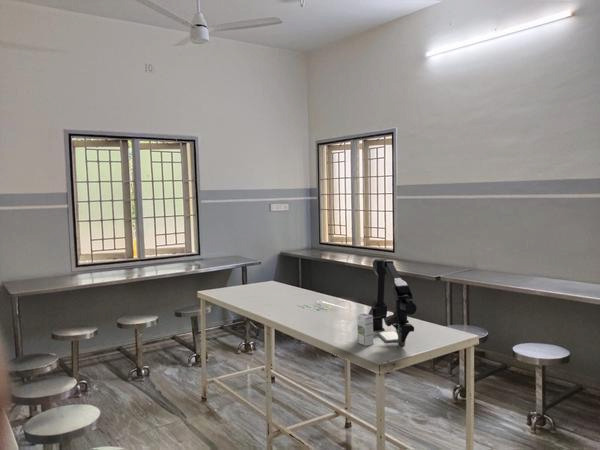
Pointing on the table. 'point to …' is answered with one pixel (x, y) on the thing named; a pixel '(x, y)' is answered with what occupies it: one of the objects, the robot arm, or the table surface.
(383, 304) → the robot arm
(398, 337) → the marker
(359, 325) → the syrup box
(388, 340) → the writing board
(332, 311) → the table surface
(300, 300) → the table surface
